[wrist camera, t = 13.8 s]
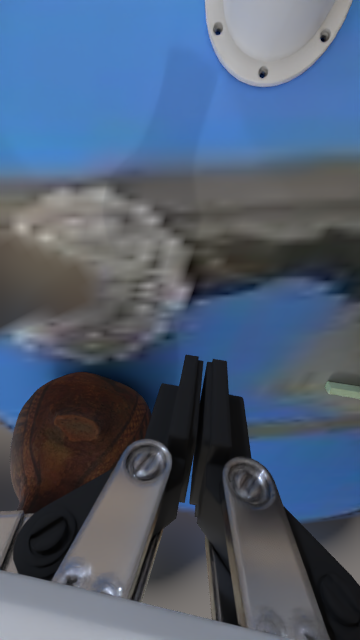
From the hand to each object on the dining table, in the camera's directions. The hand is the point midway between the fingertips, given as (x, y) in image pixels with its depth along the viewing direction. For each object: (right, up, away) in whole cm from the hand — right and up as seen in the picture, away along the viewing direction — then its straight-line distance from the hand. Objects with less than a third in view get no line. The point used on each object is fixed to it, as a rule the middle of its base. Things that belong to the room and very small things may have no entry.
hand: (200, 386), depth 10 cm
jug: (-14, -13, +36) cm, 41 cm away
